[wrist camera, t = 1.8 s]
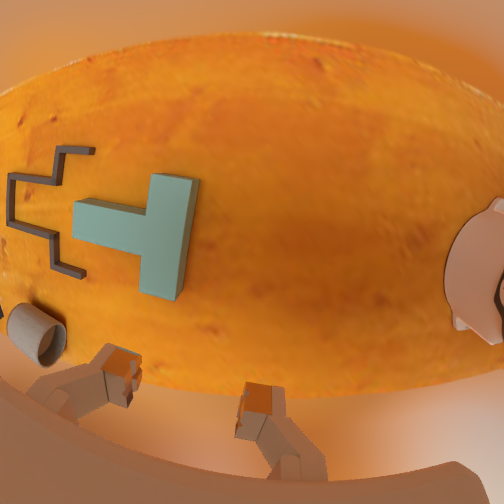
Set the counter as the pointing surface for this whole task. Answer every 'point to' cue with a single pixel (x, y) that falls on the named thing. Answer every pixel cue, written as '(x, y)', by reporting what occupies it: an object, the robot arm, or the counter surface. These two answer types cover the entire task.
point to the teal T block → (146, 231)
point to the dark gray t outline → (37, 230)
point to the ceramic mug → (36, 334)
